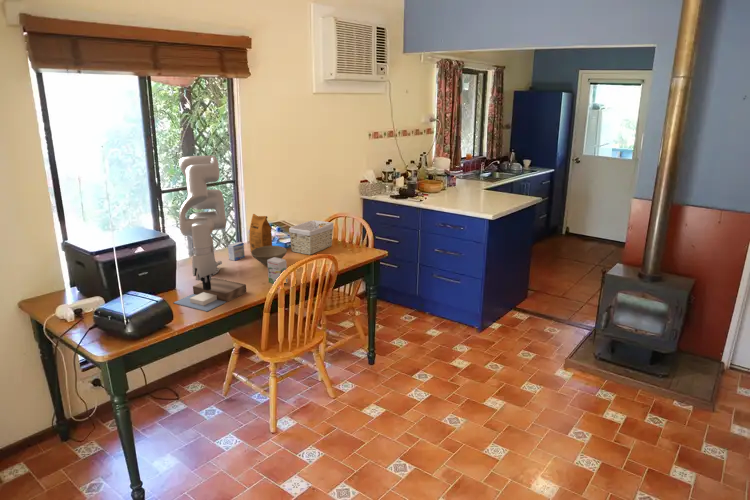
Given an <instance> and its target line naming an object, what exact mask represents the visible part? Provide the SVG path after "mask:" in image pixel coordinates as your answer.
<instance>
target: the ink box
mask: <svg viewBox="0 0 750 500" xmlns="http://www.w3.org/2000/svg"><path fill="white" fill-rule="evenodd" d="M267 264H268V265H267V276H268V283H270V284H273V283H274V282H275V281H276V279H277V278H278V277H279V276H280V274H281V273H282V272H283V271H284V270H286V269H288V268H287V259H284V258H282V259H280V258H276V257H273V258H271V259H268V260H267ZM286 282H287V283H288V278H287V279H286Z"/></svg>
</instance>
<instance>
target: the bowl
mask: <svg viewBox="0 0 750 500" xmlns="http://www.w3.org/2000/svg"><path fill="white" fill-rule="evenodd" d="M287 252H288V249H287V248H285V247H283V246H281V245H272V246H263V247H259V248H256V249H254V250H252V252H251V251H250V254H251V256H252V258H254V259H255V260H256V261H258V262H259V263H260V264H262V265H265V266H268V264H267V260H268V259H271V258H273V257H276V258H280V259H284V258H285V256H286V254H287Z"/></svg>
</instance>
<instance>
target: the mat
mask: <svg viewBox="0 0 750 500" xmlns="http://www.w3.org/2000/svg"><path fill="white" fill-rule="evenodd" d="M193 296H196V294H194V293H192V294H190V295H187V296H185V297H183V298H180V299H179V300H176V301H174V302H173V304H175V305H178V306H182V307H187V308H191V309H194V310H199V311H201V312H202V311H203V312H206V313H208V312H210V311H212V310H213V309H216V308H218V307H220V306H222V305H224V304H225V303H227V302H226V301H221V300H215V301H213V302H210V303H208V304H206V305H204V306H203V305H199V304H195V303H191V302H190V298H191V297H193Z"/></svg>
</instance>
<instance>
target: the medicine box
mask: <svg viewBox="0 0 750 500" xmlns="http://www.w3.org/2000/svg"><path fill="white" fill-rule="evenodd" d="M244 243H245V242H241V241H237V242H234V243H232V244H228V245H227V253H228V260H230V261H235V262H236V261H239V260H242V259H243V258H245V256H246V253H245V246H244V245H245V244H244Z"/></svg>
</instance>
